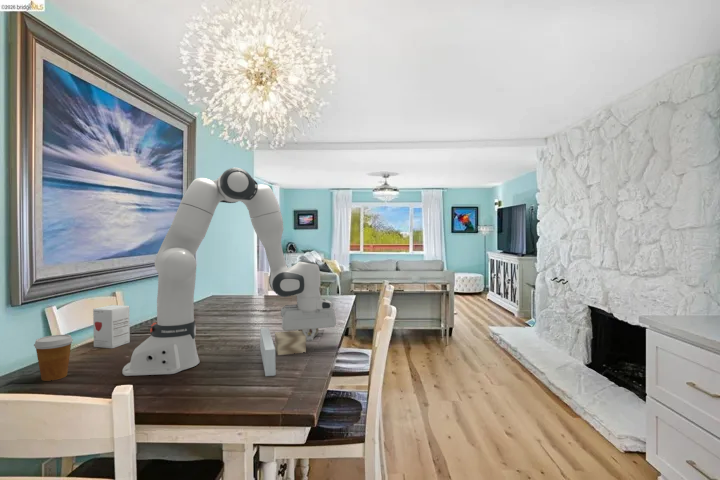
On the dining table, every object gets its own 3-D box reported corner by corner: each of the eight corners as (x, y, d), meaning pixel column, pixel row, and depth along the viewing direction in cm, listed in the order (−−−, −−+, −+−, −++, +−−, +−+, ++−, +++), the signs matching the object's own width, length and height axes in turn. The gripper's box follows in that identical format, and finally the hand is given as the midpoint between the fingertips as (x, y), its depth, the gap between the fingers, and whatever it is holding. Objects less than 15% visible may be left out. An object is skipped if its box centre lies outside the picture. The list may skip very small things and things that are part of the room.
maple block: (278, 355, 145) (277, 338, 145) (275, 348, 153) (275, 332, 153) (305, 352, 148) (305, 336, 148) (301, 345, 156) (301, 330, 156)
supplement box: (92, 347, 157) (92, 308, 156) (112, 341, 165) (111, 304, 165) (112, 348, 154) (111, 309, 154) (130, 342, 163) (130, 305, 163)
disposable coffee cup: (28, 384, 118) (27, 343, 118) (43, 373, 127) (42, 335, 127) (66, 381, 120) (65, 340, 120) (78, 370, 130) (77, 333, 129)
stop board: (265, 376, 123) (265, 350, 123) (260, 349, 152) (260, 328, 152) (275, 375, 124) (275, 349, 124) (268, 348, 153) (268, 327, 153)
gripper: (281, 306, 146) (282, 345, 146) (336, 303, 152) (337, 340, 152) (279, 304, 152) (280, 340, 153) (333, 300, 158) (333, 336, 158)
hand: (309, 340), depth 153 cm, fingers closed
